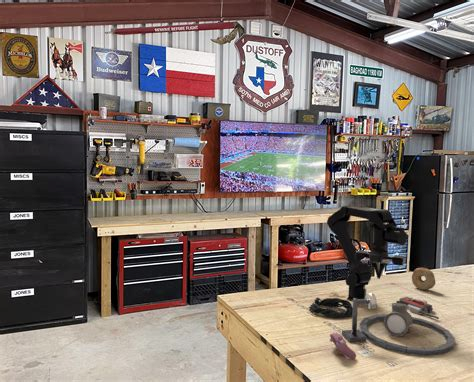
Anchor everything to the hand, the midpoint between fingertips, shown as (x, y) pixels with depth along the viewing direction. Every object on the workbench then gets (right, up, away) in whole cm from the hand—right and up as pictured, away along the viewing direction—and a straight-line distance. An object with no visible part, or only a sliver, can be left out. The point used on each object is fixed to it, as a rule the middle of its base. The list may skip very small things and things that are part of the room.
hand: (378, 278), depth 170 cm
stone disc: (+29, -11, +26) cm, 41 cm away
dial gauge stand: (-17, -14, -29) cm, 36 cm away
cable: (-21, -13, -5) cm, 25 cm away
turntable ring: (0, -14, -26) cm, 29 cm away
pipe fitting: (0, -14, -22) cm, 26 cm away
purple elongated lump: (-25, -15, -40) cm, 49 cm away
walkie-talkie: (+16, -13, -2) cm, 21 cm away
